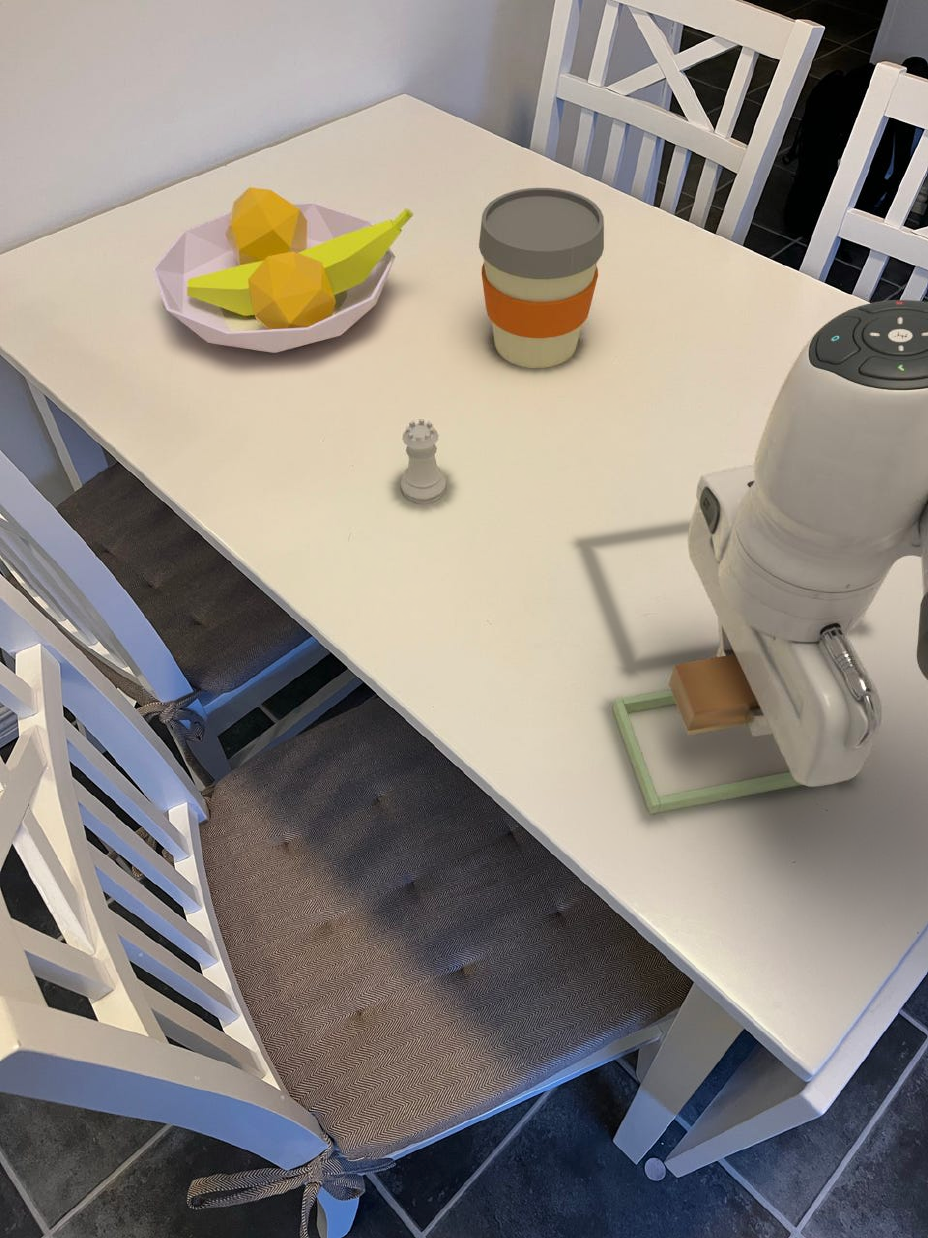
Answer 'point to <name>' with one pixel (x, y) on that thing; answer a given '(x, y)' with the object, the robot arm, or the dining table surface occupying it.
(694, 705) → the tan wooden brick
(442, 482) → the rook chess piece
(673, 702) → the rectangular frame
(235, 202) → the fruit bowl
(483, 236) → the reusable coffee cup
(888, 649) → the dining table surface
